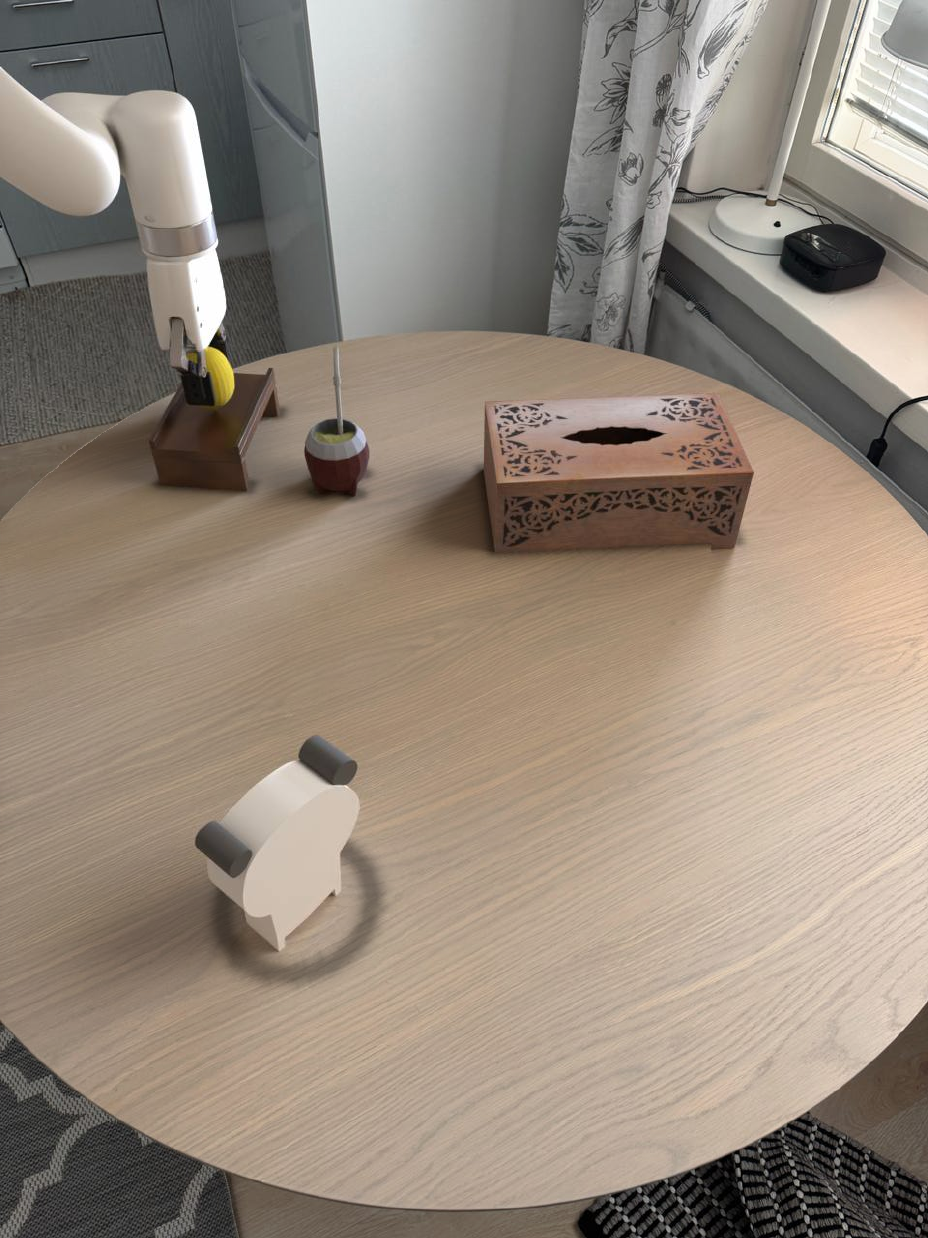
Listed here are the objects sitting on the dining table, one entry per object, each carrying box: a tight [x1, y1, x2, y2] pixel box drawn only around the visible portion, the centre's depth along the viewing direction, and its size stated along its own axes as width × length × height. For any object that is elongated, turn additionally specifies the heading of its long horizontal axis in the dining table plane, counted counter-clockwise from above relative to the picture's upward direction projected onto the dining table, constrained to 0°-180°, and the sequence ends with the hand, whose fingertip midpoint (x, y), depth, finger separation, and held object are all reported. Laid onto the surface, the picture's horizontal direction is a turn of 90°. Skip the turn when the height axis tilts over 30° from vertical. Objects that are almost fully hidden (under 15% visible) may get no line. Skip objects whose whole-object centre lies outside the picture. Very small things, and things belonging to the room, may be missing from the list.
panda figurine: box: [194, 734, 361, 952], centre depth 72 cm, size 12×11×15 cm
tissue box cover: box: [483, 392, 755, 553], centre depth 107 cm, size 26×14×10 cm, turn 94°
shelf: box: [148, 367, 281, 492], centre depth 116 cm, size 10×16×7 cm, turn 174°
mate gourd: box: [303, 345, 370, 497], centre depth 108 cm, size 8×8×15 cm
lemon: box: [186, 347, 234, 410], centre depth 111 cm, size 6×6×8 cm
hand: (209, 386), depth 112 cm, fingers closed on lemon, 5 cm apart
